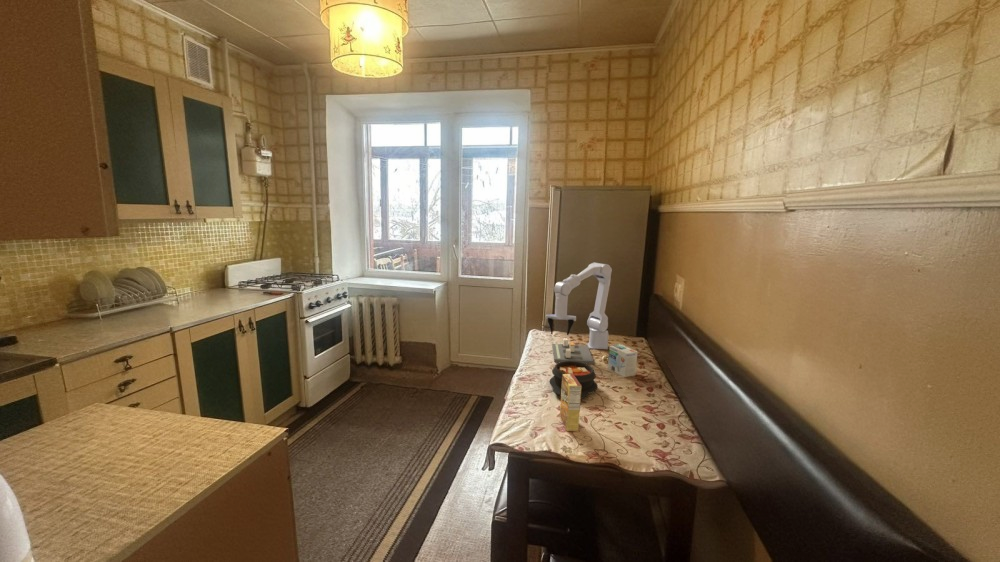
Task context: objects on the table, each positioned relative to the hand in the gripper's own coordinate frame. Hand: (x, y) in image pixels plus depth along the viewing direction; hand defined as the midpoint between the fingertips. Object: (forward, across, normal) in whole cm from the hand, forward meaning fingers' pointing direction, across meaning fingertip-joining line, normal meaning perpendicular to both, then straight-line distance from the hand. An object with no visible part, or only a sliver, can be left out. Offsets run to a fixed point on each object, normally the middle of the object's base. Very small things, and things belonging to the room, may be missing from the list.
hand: (559, 334), depth 182 cm
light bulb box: (+11, +27, -16) cm, 33 cm away
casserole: (+11, +5, -36) cm, 38 cm away
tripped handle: (+8, +6, +1) cm, 10 cm away
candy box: (+11, +2, -64) cm, 65 cm away
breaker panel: (+10, +6, +1) cm, 12 cm away
